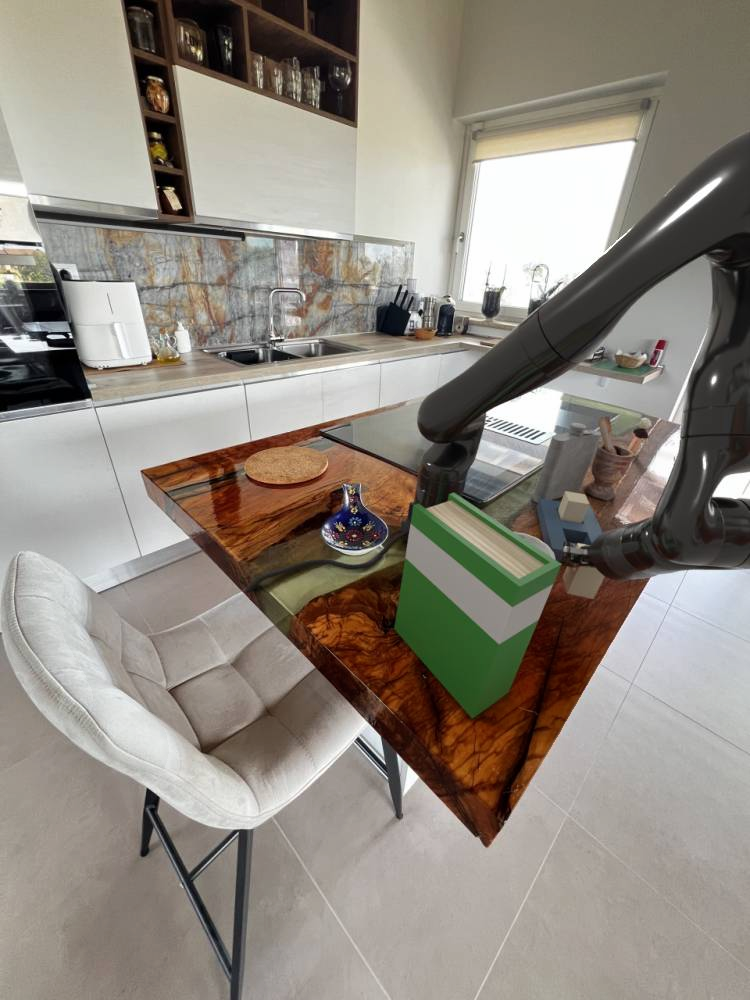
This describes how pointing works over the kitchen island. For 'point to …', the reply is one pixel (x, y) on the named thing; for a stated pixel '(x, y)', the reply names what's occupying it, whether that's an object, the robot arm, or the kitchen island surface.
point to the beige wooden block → (573, 507)
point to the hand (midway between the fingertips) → (583, 563)
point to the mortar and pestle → (608, 464)
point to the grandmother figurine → (639, 435)
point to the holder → (565, 527)
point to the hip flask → (566, 462)
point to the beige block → (582, 580)
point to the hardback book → (470, 599)
